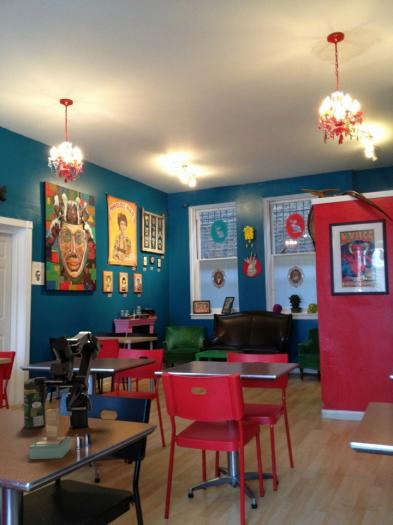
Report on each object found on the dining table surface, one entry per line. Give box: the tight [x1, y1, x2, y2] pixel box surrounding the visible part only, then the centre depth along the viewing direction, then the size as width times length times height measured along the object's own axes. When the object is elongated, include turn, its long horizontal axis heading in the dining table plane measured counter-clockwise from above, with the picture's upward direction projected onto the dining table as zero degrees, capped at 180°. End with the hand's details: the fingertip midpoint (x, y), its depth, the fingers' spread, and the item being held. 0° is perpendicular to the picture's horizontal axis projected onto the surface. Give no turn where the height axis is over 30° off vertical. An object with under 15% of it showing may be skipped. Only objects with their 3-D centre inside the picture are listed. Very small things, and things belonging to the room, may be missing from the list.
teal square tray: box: [29, 436, 72, 460], centre depth 154 cm, size 10×10×4 cm
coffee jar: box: [23, 377, 46, 429], centre depth 196 cm, size 10×8×19 cm
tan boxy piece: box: [36, 408, 66, 446], centre depth 155 cm, size 7×7×10 cm
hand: (55, 405), depth 165 cm, fingers open, 9 cm apart
